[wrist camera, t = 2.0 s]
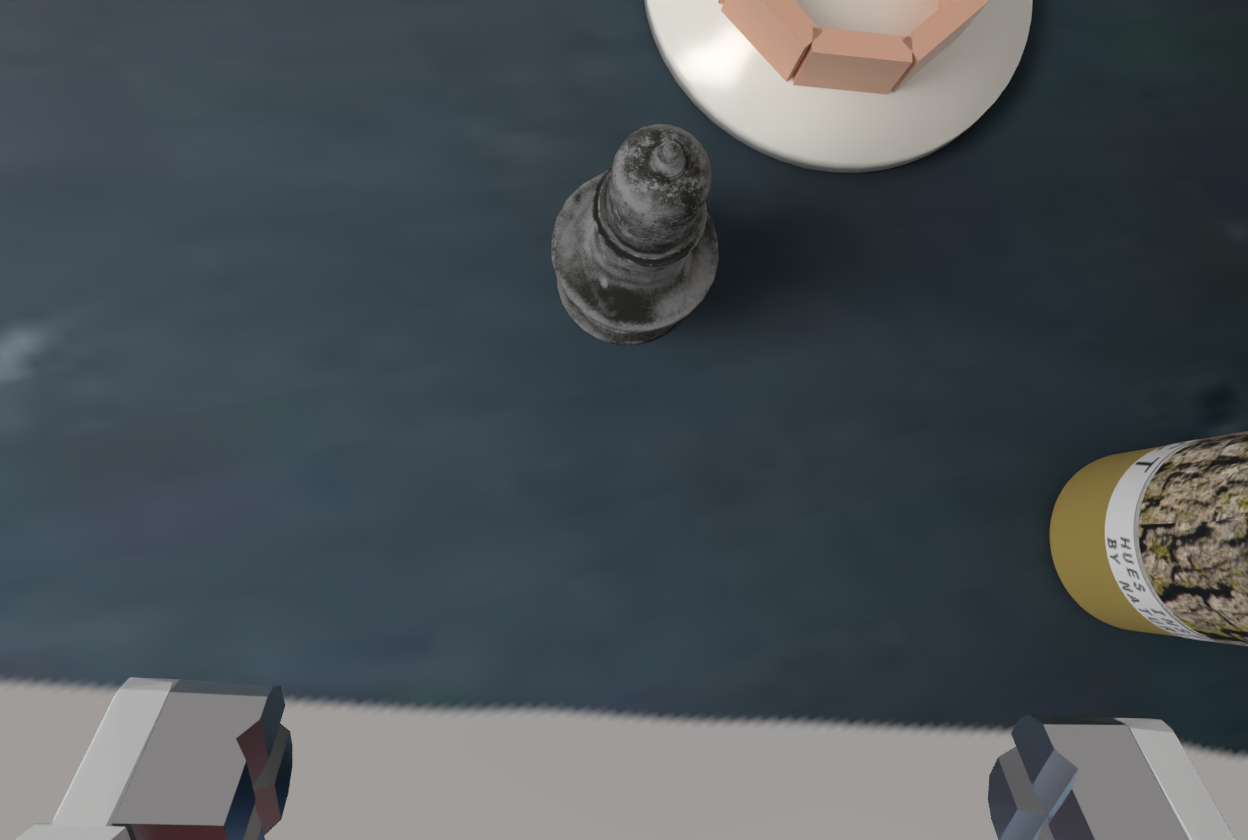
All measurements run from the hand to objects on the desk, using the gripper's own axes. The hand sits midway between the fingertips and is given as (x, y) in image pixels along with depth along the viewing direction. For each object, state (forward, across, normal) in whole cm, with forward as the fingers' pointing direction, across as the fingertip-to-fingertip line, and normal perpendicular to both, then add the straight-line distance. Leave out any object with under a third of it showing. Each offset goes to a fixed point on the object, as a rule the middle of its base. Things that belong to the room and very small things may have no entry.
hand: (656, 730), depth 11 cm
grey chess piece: (+26, -1, +8) cm, 28 cm away
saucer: (+36, -9, -1) cm, 37 cm away
